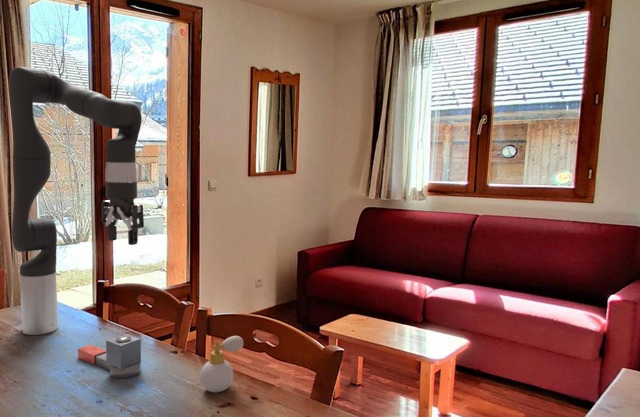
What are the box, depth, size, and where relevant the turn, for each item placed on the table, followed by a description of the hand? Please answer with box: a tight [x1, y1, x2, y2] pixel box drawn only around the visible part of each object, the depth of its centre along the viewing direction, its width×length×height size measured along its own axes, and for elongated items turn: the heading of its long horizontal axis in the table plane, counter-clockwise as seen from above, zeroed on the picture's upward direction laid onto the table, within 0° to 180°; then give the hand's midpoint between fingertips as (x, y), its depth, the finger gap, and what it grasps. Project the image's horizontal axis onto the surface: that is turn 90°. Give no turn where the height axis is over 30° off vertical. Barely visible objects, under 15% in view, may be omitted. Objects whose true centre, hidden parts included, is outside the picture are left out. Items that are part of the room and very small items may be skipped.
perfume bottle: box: [199, 335, 244, 393], centre depth 117 cm, size 8×10×12 cm
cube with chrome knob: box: [105, 333, 142, 370], centre depth 124 cm, size 6×6×6 cm
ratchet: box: [77, 344, 142, 380], centre depth 128 cm, size 20×7×6 cm, turn 57°
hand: (122, 242), depth 132 cm, fingers open, 8 cm apart
